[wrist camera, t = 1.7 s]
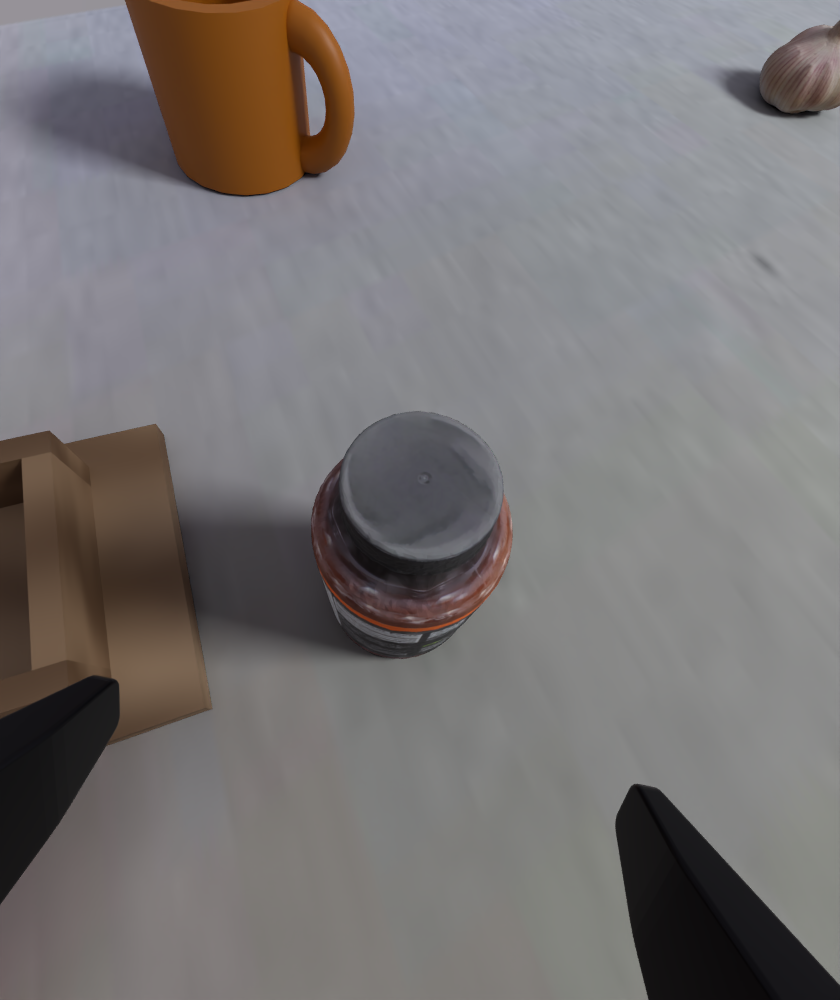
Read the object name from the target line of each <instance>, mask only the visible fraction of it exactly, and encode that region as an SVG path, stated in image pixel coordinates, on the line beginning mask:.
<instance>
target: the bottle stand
mask: <svg viewBox="0 0 840 1000" xmlns="http://www.w3.org/2000/svg"><path fill="white" fill-rule="evenodd" d="M92 675H98V676H103V677H108V678H113V679H115V680H117V681H118V683H119V690H120V718H119V722H118V725H117V728H116V730H115V732H114V733H113V735H112V737H111V738H110V740H109V742H108V743H107V745H106V746H108V745H110V744H113V743H116V742H119V741H122V740H125V739H127V738H130V737H133V736H136V735H139V734H142V733H145V732H147V731H150V730H153V729H156V728H159V727H162V726H164V725H167V724H170V723H173V722H176V721H179V720H182V719H184V718H187V717H190V716H193V715H196V714H199V713H201V712H204V711H207V710H210V709H212V705H211V699H210V693H209V688H208V682H207V676H206V671H205V665H204V659H203V654H202V648H201V642H200V637H199V631H198V625H197V620H196V614H195V609H194V603H193V597H192V592H191V586H190V580H189V575H188V569H187V563H186V558H185V552H184V546H183V541H182V535H181V529H180V524H179V518H178V513H177V507H176V501H175V496H174V490H173V484H172V479H171V473H170V467H169V462H168V456H167V450H166V445H165V439H164V435H163V433H162V432H161V431H160V429H159V428H158V426H157V425H156V424H153V425H148V426H144V427H139V428H134V429H130V430H125V431H121V432H116V433H112V434H107V435H103V436H98V437H94V438H89V439H84V440H80V441H75V442H71V443H66V444H63V443H62V442H61V441H60V440H59V439H58V438H57V437H56V436H55V435H54V434H52V433H51V432H50V431H45V432H40V433H35V434H31V435H26V436H21V437H17V438H12V439H7V440H3V441H0V719H1V718H3V717H5V716H7V715H9V714H11V713H13V712H15V711H17V710H19V709H22V708H24V707H26V706H28V705H30V704H32V703H34V702H36V701H38V700H40V699H43V698H45V697H47V696H49V695H51V694H53V693H55V692H57V691H59V690H61V689H63V688H66V687H68V686H70V685H72V684H74V683H76V682H78V681H80V680H82V679H84V678H86V677H89V676H92Z"/></svg>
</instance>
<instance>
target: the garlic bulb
mask: <svg viewBox="0 0 840 1000" xmlns="http://www.w3.org/2000/svg"><path fill="white" fill-rule="evenodd" d="M760 92H761V95H762V97H763V99H764V100H765V101H766V102H767V103H769V104H771V105H774V106H776V107H777V108H778V109H779V110H780V111H782V112H785V113H788V112H790V113H791V114H793V113H799V112H802V111H806V110H808V111H821V110H830V109H833V108H836V107H838V106H839V105H840V21H839V22H837V23H836V24H835V26H827V25H819V26H815V27H812V28H809V29H807V30H805V31H803V32H801V33H800V34H798V35H797V36H795V37H794V38H793V39H792V40H791V41H790V42H788V43H787V44H785V45H783V46H782V47H780V48H778V49H777V50H776V51H775V52H774V53H773V54H772V55H771V56H770V57H769V58H768V59H767V61H766V62H765V64H764V66H763V68H762V71H761V74H760Z"/></svg>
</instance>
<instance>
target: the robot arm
mask: <svg viewBox="0 0 840 1000" xmlns="http://www.w3.org/2000/svg"><path fill="white" fill-rule="evenodd" d="M119 718H120V690H119V683H118V681H117V680H115V679H113V678H108V677H103V676H98V675H92V676H89V677H86V678H84V679H82V680H80V681H78V682H76V683H74V684H72V685H70V686H68V687H66V688H63V689H61V690H59V691H57V692H55V693H53V694H51V695H49V696H47V697H45V698H43V699H40V700H38V701H36V702H34V703H32V704H30V705H28V706H26V707H24V708H22V709H19V710H17V711H15V712H13V713H11V714H9V715H7V716H5V717H3V718H1V719H0V904H1V903H2V901H3V900H4V899H5V897H6V896H7V895H8V893H9V892H10V890H11V889H12V888H13V886H14V885H15V884H16V882H17V881H18V879H19V878H20V877H21V875H22V874H23V873H24V871H25V870H26V868H27V867H28V866H29V864H30V863H31V862H32V860H33V859H34V857H35V856H36V855H37V853H38V852H39V851H40V849H41V848H42V846H43V845H44V844H45V842H46V841H47V840H48V838H49V837H50V835H51V834H52V832H53V831H54V830H55V828H56V827H57V825H58V824H59V822H60V821H61V819H62V818H63V816H64V815H65V813H66V811H67V810H68V808H69V807H70V805H71V803H72V802H73V800H74V798H75V797H76V795H77V793H78V792H79V790H80V788H81V787H82V785H83V783H84V782H85V780H86V778H87V777H88V775H89V773H90V772H91V770H92V768H93V767H94V765H95V763H96V762H97V760H98V758H99V757H100V755H101V753H102V752H103V750H104V748H105V747H106V745H107V743H108V742H109V740H110V738H111V737H112V735H113V733H114V732H115V730H116V728H117V725H118V722H119ZM615 829H616V836H617V842H618V849H619V855H620V861H621V867H622V874H623V880H624V886H625V892H626V899H627V905H628V911H629V917H630V923H631V928H632V934H633V938H634V943H635V947H636V951H637V956H638V959H639V963H640V967H641V971H642V975H643V979H644V983H645V987H646V991H647V995H648V999H649V1000H840V985H839V984H838V983H837V982H836V981H835V979H834V978H833V977H832V976H831V975H830V974H829V973H828V972H827V971H826V970H825V969H824V967H823V966H822V965H821V964H820V963H819V962H818V961H817V960H816V959H815V958H814V957H813V956H812V954H811V953H810V952H809V951H808V950H807V949H806V948H805V947H804V946H803V945H802V944H801V942H800V941H799V940H798V939H797V938H796V937H795V936H794V935H793V934H792V933H791V932H790V931H789V929H788V928H787V927H786V926H785V925H784V924H783V923H782V922H781V921H780V920H779V919H778V918H777V916H776V915H775V914H774V913H773V912H772V911H771V910H770V909H769V908H768V907H767V906H766V904H765V903H764V902H763V901H762V900H761V899H760V898H759V897H758V896H757V895H756V894H755V893H754V891H753V890H752V889H751V888H750V887H749V886H748V885H747V884H746V883H745V882H744V881H743V880H742V878H741V877H740V876H739V875H738V874H737V873H736V872H735V871H734V870H733V869H732V868H731V866H730V865H729V864H728V863H727V862H726V861H725V860H724V859H723V858H722V857H721V856H720V855H719V853H718V852H717V851H716V850H715V849H714V848H713V847H712V846H711V845H710V844H709V843H708V841H707V840H706V839H705V838H704V837H703V836H702V835H701V834H700V833H699V832H698V831H697V830H696V828H695V827H694V826H693V825H692V824H691V823H690V822H689V821H688V820H687V819H686V818H685V817H684V815H683V814H682V813H681V812H680V811H679V810H678V809H677V808H676V807H675V806H674V805H673V803H672V802H671V801H670V800H669V799H668V798H667V797H666V796H665V795H664V794H663V793H662V792H661V791H660V790H659V789H657V788H655V787H651V786H646V785H641V784H634V785H632V786H631V787H630V789H629V791H628V793H627V795H626V797H625V799H624V801H623V803H622V805H621V807H620V809H619V811H618V814H617V817H616V823H615Z"/></svg>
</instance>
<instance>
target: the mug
mask: <svg viewBox="0 0 840 1000" xmlns="http://www.w3.org/2000/svg"><path fill="white" fill-rule="evenodd" d="M125 2H126V5H127V8H128V11H129V14H130V17H131V20H132V23H133V27H134V30H135V33H136V36H137V39H138V42H139V45H140V48H141V51H142V54H143V57H144V60H145V64H146V67H147V70H148V73H149V76H150V79H151V82H152V85H153V88H154V91H155V94H156V98H157V101H158V104H159V107H160V110H161V113H162V116H163V119H164V122H165V125H166V128H167V131H168V135H169V138H170V141H171V144H172V147H173V150H174V153H175V156H176V159H177V162H178V165H179V166H180V167H181V169H182V170H183V171H184V173H185V174H186V175H187V176H188V177H189V178H191V179H192V180H194V181H195V182H197V183H199V184H200V185H202V186H204V187H207V188H210V189H213V190H216V191H219V192H222V193H229V194H239V195H253V194H264V193H270V192H273V191H276V190H279V189H282V188H286V187H288V186H289V185H291V184H292V183H294V182H295V181H297V180H299V179H300V178H301V177H302V176H303V175H304V173H305V172H306V173H312V174H317V173H322V172H326V171H328V170H329V169H331V168H332V167H334V166H335V165H336V164H338V163H339V161H340V160H341V158H342V157H343V155H344V154H345V152H346V150H347V147H348V144H349V141H350V138H351V135H352V130H353V122H354V95H353V88H352V83H351V79H350V74H349V69H348V66H347V64H346V61H345V59H344V56H343V53H342V51H341V48H340V46H339V44H338V42H337V41H336V39H335V37H334V35H333V34H332V32H331V30H330V29H329V27H328V26H327V24H326V23H325V22H324V21H323V20H322V19H321V18H320V17H319V16H318V15H317V13H316V12H315V11H314V10H312V9H311V8H309V7H307V6H306V5H304V4H303V3H301V2H299V1H298V0H125ZM303 58H304V59H305V60H306V61H307V62H308V63H309V64H310V65H311V67H312V68H313V70H314V71H315V73H316V75H317V77H318V79H319V81H320V84H321V86H322V90H323V93H324V97H325V106H326V116H325V123H324V126H323V128H322V129H321V131H320V132H319V133H318V134H317V135H313V136H310V130H309V119H308V108H307V96H306V85H305V73H304V62H303Z"/></svg>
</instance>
